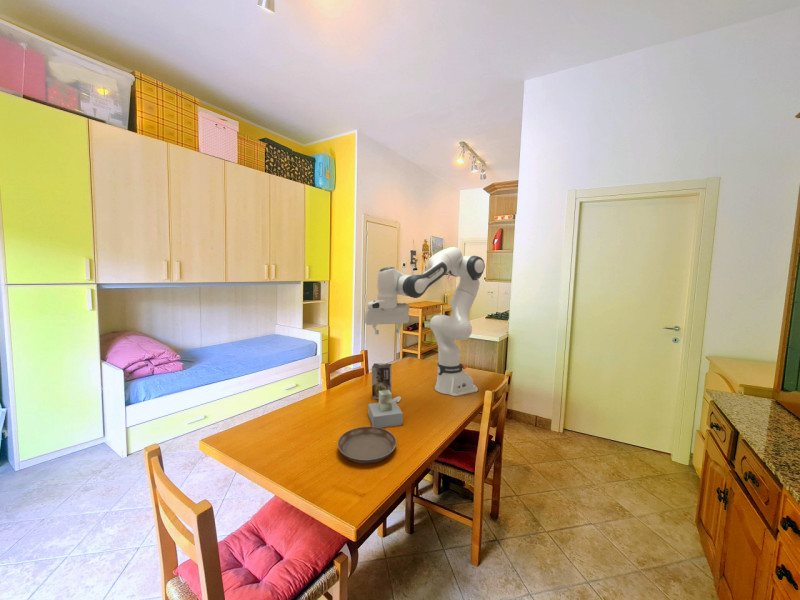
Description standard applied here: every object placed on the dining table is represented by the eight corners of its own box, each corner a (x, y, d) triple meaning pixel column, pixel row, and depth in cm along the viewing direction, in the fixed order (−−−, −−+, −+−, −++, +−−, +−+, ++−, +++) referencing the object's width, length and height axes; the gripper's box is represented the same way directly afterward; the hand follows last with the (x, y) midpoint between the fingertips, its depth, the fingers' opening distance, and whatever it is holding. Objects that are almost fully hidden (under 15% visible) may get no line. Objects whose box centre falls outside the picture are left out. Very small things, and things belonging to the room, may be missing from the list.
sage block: (388, 405, 134) (389, 389, 133) (391, 410, 130) (391, 393, 129) (378, 406, 133) (378, 390, 132) (381, 411, 129) (381, 395, 128)
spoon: (403, 400, 152) (403, 397, 152) (377, 417, 135) (377, 413, 135) (396, 398, 154) (396, 395, 154) (369, 414, 137) (369, 411, 137)
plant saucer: (401, 438, 119) (402, 429, 118) (387, 473, 99) (387, 463, 98) (350, 431, 123) (350, 423, 123) (327, 463, 103) (327, 453, 103)
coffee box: (391, 394, 158) (392, 363, 156) (390, 400, 151) (390, 367, 150) (374, 393, 159) (374, 362, 157) (371, 399, 152) (371, 367, 151)
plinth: (394, 411, 139) (394, 400, 139) (402, 424, 128) (402, 413, 127) (368, 414, 136) (368, 403, 136) (373, 428, 125) (373, 416, 124)
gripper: (407, 302, 146) (406, 331, 148) (363, 303, 140) (363, 333, 142) (411, 303, 140) (410, 333, 142) (366, 304, 134) (366, 336, 136)
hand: (387, 333), depth 142 cm, fingers open, 8 cm apart
